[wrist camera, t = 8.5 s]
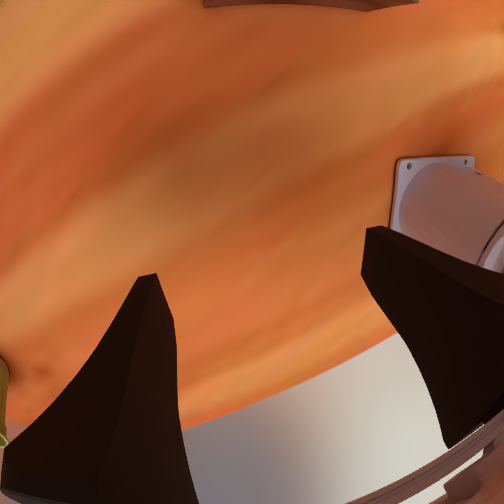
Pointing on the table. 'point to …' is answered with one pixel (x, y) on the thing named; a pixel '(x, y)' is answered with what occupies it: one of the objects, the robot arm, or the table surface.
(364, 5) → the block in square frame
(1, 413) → the plant pot
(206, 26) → the table surface
